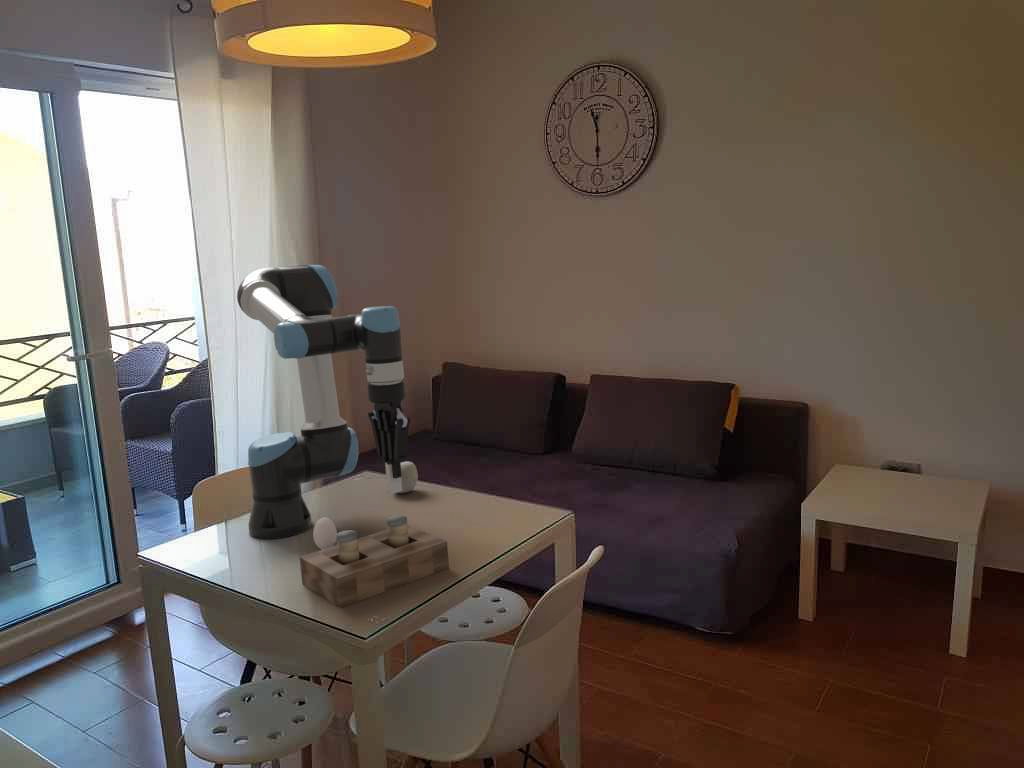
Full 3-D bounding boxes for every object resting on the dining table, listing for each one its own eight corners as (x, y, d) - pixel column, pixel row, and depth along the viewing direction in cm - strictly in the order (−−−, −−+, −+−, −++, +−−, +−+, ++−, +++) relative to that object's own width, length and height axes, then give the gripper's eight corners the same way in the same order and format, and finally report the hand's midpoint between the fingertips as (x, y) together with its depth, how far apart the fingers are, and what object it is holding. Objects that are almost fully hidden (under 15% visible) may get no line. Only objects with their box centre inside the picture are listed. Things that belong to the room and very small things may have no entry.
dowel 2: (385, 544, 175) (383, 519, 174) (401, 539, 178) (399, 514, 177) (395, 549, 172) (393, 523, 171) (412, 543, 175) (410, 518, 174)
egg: (317, 555, 185) (314, 523, 184) (312, 548, 190) (309, 516, 189) (341, 550, 188) (338, 518, 186) (334, 543, 192) (332, 512, 191)
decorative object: (417, 496, 225) (415, 461, 223) (385, 498, 225) (383, 463, 223) (420, 486, 234) (417, 452, 232) (389, 488, 233) (386, 454, 231)
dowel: (334, 560, 168) (332, 534, 167) (353, 554, 170) (350, 528, 169) (345, 566, 165) (342, 539, 164) (363, 560, 167) (361, 533, 166)
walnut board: (302, 584, 170) (299, 556, 169) (407, 548, 187) (405, 523, 186) (340, 607, 158) (337, 578, 157) (449, 567, 175) (447, 541, 173)
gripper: (353, 381, 171) (363, 490, 175) (387, 387, 162) (396, 502, 166) (384, 376, 176) (393, 482, 180) (418, 381, 166) (427, 493, 170)
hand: (395, 491), depth 173 cm, fingers closed
